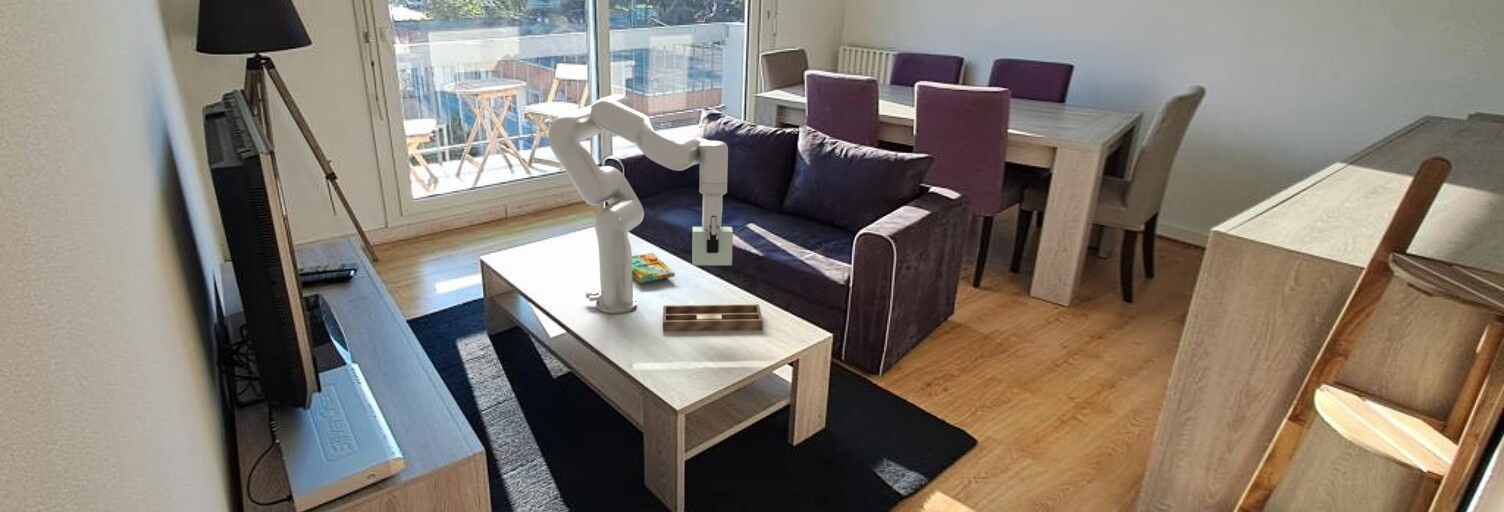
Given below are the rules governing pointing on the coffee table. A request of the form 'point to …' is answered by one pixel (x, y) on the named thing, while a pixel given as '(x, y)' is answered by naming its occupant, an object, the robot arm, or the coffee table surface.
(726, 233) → the pale green block
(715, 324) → the tray
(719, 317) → the offcut upper
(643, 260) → the puzzle game
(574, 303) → the coffee table surface
